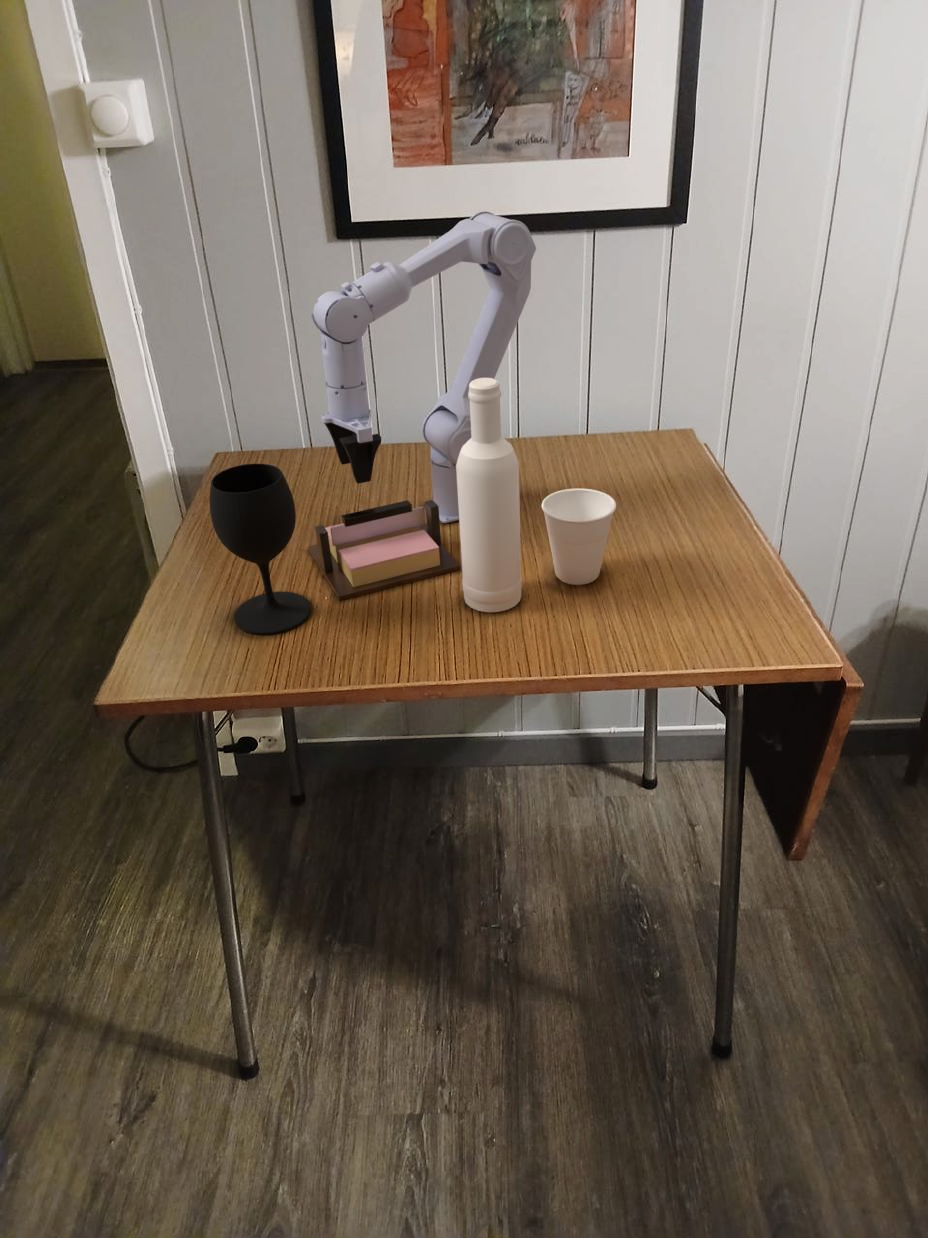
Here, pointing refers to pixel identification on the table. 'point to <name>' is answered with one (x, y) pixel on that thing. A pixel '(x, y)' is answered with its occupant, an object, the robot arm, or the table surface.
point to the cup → (578, 532)
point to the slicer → (346, 590)
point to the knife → (377, 522)
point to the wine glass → (258, 540)
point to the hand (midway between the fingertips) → (355, 471)
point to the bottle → (489, 506)
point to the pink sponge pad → (385, 555)
